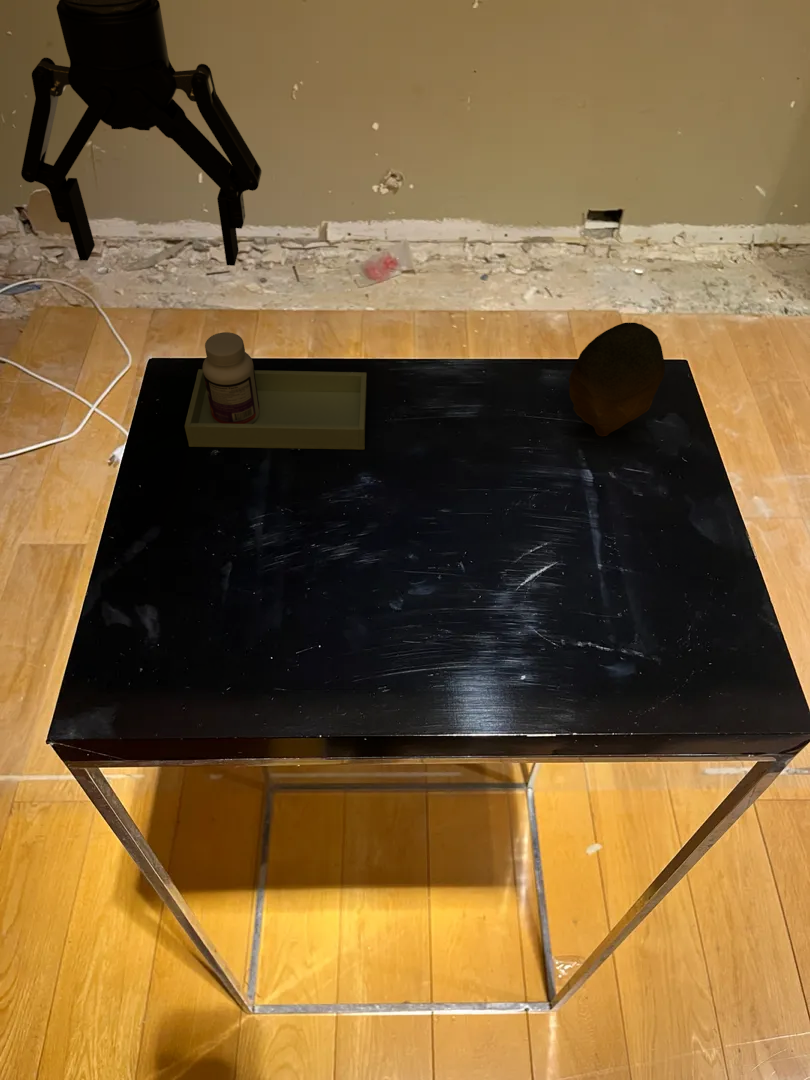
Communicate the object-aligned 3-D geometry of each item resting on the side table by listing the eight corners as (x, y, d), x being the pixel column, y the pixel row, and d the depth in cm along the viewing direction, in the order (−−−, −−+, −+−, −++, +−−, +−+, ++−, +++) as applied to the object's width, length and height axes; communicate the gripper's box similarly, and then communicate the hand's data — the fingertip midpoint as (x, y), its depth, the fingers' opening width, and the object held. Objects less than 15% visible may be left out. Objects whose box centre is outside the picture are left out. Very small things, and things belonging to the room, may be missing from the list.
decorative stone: (636, 419, 95) (672, 308, 84) (645, 456, 91) (685, 344, 80) (553, 417, 95) (577, 305, 84) (559, 453, 91) (585, 341, 80)
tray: (189, 446, 90) (184, 426, 88) (202, 389, 97) (198, 368, 94) (364, 449, 91) (364, 429, 88) (366, 392, 97) (366, 372, 95)
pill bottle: (221, 395, 95) (208, 324, 88) (266, 402, 95) (257, 331, 87) (204, 426, 92) (190, 355, 84) (251, 434, 91) (240, 363, 84)
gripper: (279, -13, 64) (296, 239, 81) (-45, -27, 64) (38, 229, 80) (268, 21, 60) (289, 281, 76) (-82, 6, 59) (14, 272, 75)
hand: (160, 255), depth 78 cm, fingers open, 13 cm apart
